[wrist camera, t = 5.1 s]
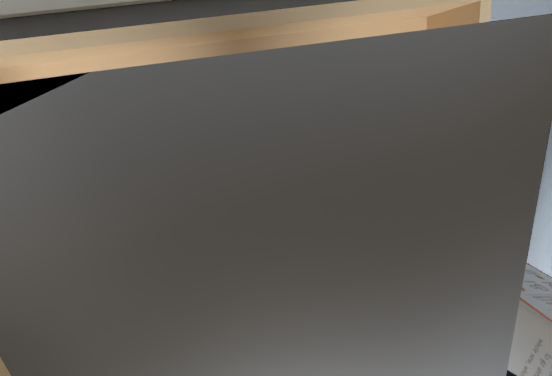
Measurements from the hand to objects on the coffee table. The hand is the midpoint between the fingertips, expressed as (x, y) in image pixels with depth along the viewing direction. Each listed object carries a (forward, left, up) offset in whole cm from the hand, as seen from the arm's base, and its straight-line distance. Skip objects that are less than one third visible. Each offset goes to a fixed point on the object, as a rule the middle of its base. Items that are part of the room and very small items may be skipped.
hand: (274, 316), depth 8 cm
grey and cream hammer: (0, 0, -1) cm, 1 cm away
